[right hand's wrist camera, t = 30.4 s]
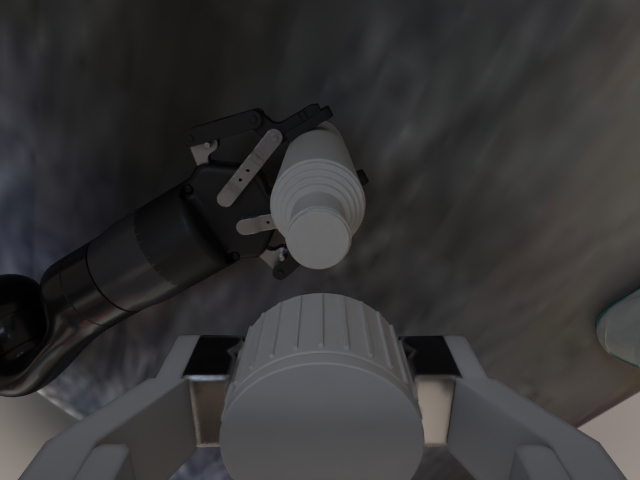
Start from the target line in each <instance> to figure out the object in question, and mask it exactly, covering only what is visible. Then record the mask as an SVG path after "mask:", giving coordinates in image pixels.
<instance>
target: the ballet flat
mask: <svg viewBox="0 0 640 480" xmlns="http://www.w3.org/2000/svg"><path fill="white" fill-rule="evenodd" d="M596 328H597V329H596V334H597V339H598V341H599V342H600V344H601V345H602V347H603V348H604V349H605V350H606V351H607V352H608V353H609V354H610V355H612V356H614V357H617V358H619V359H621V360H623V361H625V362H627V363H629V364H631V365H633V366H636V367H638V368H640V288H639V289H637V290H635V291H633V292H631V293H630V294H628V295H626V296H625V297H623V298H621V299H620V300H618V301H617V302H615V303H614V304H612V305H611V306H609V307H608V308H607V309H605V310H604V311H603V312H602V313H601V314H600V315H599V316H598V318H597V320H596Z"/></svg>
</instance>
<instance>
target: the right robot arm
mask: <svg viewBox="0 0 640 480" xmlns="http://www.w3.org/2000/svg"><path fill="white" fill-rule="evenodd" d="M398 340H401V342H402V346H403V349H404V352H405V355H406V359H407V363H408V366H409V369H410V373H411V376H412V379H413V383H414V385H415V389H416V392H417V395H418V399H419V401H418V403H419V406H420V410H421V413H422V416H423V420H422V425H423V429H424V439H425V442H424V446H426V447H447V450H448V451H449V452H450V453H451V454H452V455H453V456H454V457H455V458H456V459H457V460H458V461H459V463H460V464H461V465H462V466H463V467H464V468H465V469H466V470H467V471H468V472H469V473H470V474H471V475H472V476H473V477H474V478H475V479H476V480H627V479H626V477H625V476H624V475H623V473H622V472H621V471H620V469H619V468H618V467H617V465H616V464H615V463H614V461H613V460H612V459H611V457H610V456H609V455H608V453H607V452H606V451H605V449H604V448H603V447H602V445H601V444H600V443H599V442H598V441H596V440H595V439H593V438H591V437H590V436H588V435H586V434H585V433H583V432H582V431H580V430H578V429H577V428H575V427H573V426H572V425H570V424H568V423H567V422H565V421H564V420H562V419H560V418H559V417H557V416H555V415H554V414H552V413H551V412H549V411H547V410H546V409H544V408H542V407H541V406H539V405H537V404H536V403H534V402H533V401H531V400H529V399H528V398H526V397H524V396H523V395H521V394H520V393H518V392H516V391H515V390H513V389H511V388H510V387H508V386H506V385H505V384H503V383H502V382H500V381H498V380H497V379H495V378H488V377H487V375H486V373H485V371H484V369H483V368H482V366H481V364H480V362H479V360H478V359H477V357H476V355H475V353H474V352H473V350H472V348H471V346H470V344H469V343H468V341H467V339H466V337H465V336H463V335H441V336H399V339H398ZM242 342H245V338H244V336H226V335H202V336H201V335H181V336H179V337H178V338H177V339H176V341H175V343H174V345H173V346H172V348H171V350H170V352H169V354H168V356H167V357H166V359H165V361H164V363H163V365H162V367H161V369H160V370H159V372H158V374H157V376H156V378H149V379H147V380H145V381H144V382H142V383H141V384H139V385H137V386H136V387H134V388H132V389H131V390H129V391H128V392H126V393H124V394H123V395H121V396H119V397H118V398H116V399H115V400H113V401H111V402H110V403H108V404H107V405H105V406H103V407H102V408H100V409H98V410H97V411H95V412H94V413H92V414H90V415H89V416H87V417H85V418H84V419H82V420H81V421H79V422H77V423H76V424H74V425H72V426H71V427H69V428H68V429H66V430H64V431H63V432H61V433H59V434H58V435H56V436H55V437H53V438H51V439H50V440H48V441H46V443H45V444H44V445H43V447H42V448H41V449H40V451H39V452H38V453H37V455H36V456H35V457H34V459H33V460H32V461H31V463H30V464H29V465H28V467H27V468H26V469H25V471H24V472H23V473H22V475H21V476H20V477H19V479H18V480H168V479H169V478H170V477H171V476H172V475H173V474H174V473H175V472H176V471H177V470H178V469H179V468H180V467H181V466H182V464H183V463H184V462H185V461H186V460H187V459H188V458H189V457H190V456H191V455H192V454H193V453H194V452H195V451H196V450H197V447H217V446H220V444H219V437H220V428H221V424H222V421H221V417H222V413H223V410H224V406H225V402H224V401H225V398H226V394H227V391H228V387H229V384H230V383H231V379H232V376H233V373H234V369H235V366H236V360H237V356H238V353H239V351H240V349H241V345H242Z"/></svg>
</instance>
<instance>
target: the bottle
mask: <svg viewBox="0 0 640 480" xmlns="http://www.w3.org/2000/svg"><path fill="white" fill-rule="evenodd" d="M365 206H366V202H365V195H364V191H363V188H362V186H361V183H360V180H359V178H358V175H357V173H356V170H355V168H354V165H353V163H352V160H351V158H350V155H349V153H348V150H347V148H346V145H345V143H344V140H343V138H342V135H341V133H340V132H339V130H338V129H337V128H336V127H335V126H334V125H332V124H331V123H329V122H327V121H324V122H323V123H321V124H319V125H317V126H316V127H314V128H312V129H311V130H309V131H307V132H306V133H304V134H302V135H300V136H298V137H297V138H295V139H294V140H292V141H290V143H289V146H288V149H287V151H286V154H285V157H284V160H283V162H282V165H281V168H280V171H279V173H278V176H277V179H276V182H275V185H274V187H273V190H272V194H271V199H270V210H271V215H272V218H273V221H274V223H275V225H276V227H277V229H278V230H279V231H280V233H281V234H282V235H283V236H284V237H285V238H286V244H287V248H288V250H289V252H290V253H291V255H292V256H293V258H294V259H295V260H296V261H297V262H298V263H300V264H301V265H303V266H305V267H308V268H312V269H325V268H329V267H332V266H334V265H335V264H337V263H339V262H340V261H341V260H342V259H343V258H344V257H345V256H346V254H347V253H348V251H349V249H350V246H351V239H352V236H353V235H354V234H355V232H356V231H357V230H358V228H359V227H360V225H361V223H362V220H363V217H364V214H365Z"/></svg>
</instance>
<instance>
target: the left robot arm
mask: <svg viewBox="0 0 640 480" xmlns="http://www.w3.org/2000/svg"><path fill="white" fill-rule="evenodd" d="M332 116H333V113H332V111H331V110H330V108H329V106H326V107H324V108H322V109H321V108H320V107H319V105H318V103H317V104H310V105H309V106H307V107H306V108H304V109H302V110H301V111H299V112H297V113H296V114H294V115H292V116H291V117H289V118H287V119H286V120H284V121H282V122H275V121H273V120H272V119H270V118H269V117H268V116H267V115H266V114H265V113H264V111H263V110H262V109H260V108H254V109H251V110H248V111H244V112H241V113H238V114H234V115H231V116H228V117H224V118H221V119H218V120H214V121H211V122H208V123H204V124H201V125H198V126H195V127H193V128H190V129H188V130H186V131H184V132H183V134H182V141H183V143H184V144H185V145H186V146H188V147H190V148H191V151H192V154H193V156H194V159H195V161H196V164H197V167H196V168H195V169H194V171H193V173H192V175H191V177H190V178H188V179H187V180H185V181H184V182H182V183H180V184H179V185H177V186H175V187H174V188H172V189H170V190H169V191H167V192H165V193H164V194H162V195H160V196H159V197H157V198H155V199H154V200H152V201H150V202H149V203H147V204H145V205H144V206H142V207H140V208H138V209H135V210H133V211H131V212H130V213H128V215H127V216H125V217H124V218H122V219H120V220H119V221H117V222H116V223H114V224H113V225H111V226H110V227H109V228H108V229H107V230H105V231H104V232H103V233H102V234H101V235H99V236H98V237H96V238H95V239H93V240H92V241H90V242H88V243H87V244H85V245H83V246H82V247H80V248H78V249H77V250H75V251H73V252H72V253H70V254H68V255H67V256H65V257H63V258H62V259H60V260H58V261H57V262H55V263H54V264H53V265H51V266H50V267H49V268H48V269H47V270H46V272H45V273H44V275H43V276H42V279H41V283H40V285H39V284H38V283H37V282H36V281H35V280H33V279H31V278H29V277H26V276H23V275H17V274H4V275H0V396H5V397H19V396H25V395H28V394H31V393H33V392H36V391H38V390H39V389H41V388H43V387H44V386H46V385H48V384H49V383H50V382H52V381H53V380H54V379H56V378H57V377H58V376H59V375H60V374H61V373H62V372H63V371H64V370H65V369H66V368H67V367H68V366H69V365H70V364H71V363H72V362H73V361H74V360H75V359H76V357H77V356H78V355H79V354H80V353H81V352H82V351H83V350H84V348H85V347H86V346H87V345H88V344H89V343H91V342H92V341H93V340H94V339H95V338H96V337H97V336H99V335H100V334H101V333H102V332H104V331H105V330H107V329H109V328H110V327H112V326H114V325H115V324H117V323H119V322H121V321H123V320H125V319H126V318H128V317H130V316H132V315H134V314H136V313H137V312H139V311H141V310H143V309H145V308H147V307H150V306H152V305H155V304H158V303H160V302H163V301H165V300H167V299H169V298H171V297H173V296H175V295H176V294H178V293H180V292H182V291H184V290H186V289H187V288H189V287H191V286H193V285H195V284H197V283H198V282H200V281H202V280H204V279H206V278H207V277H209V276H211V275H213V274H215V273H217V272H218V271H220V270H222V269H224V268H226V267H228V266H229V265H231V264H233V263H235V262H237V261H238V260H240V259H242V258H247V257H258V256H259V257H261V258H262V259H263V260H264V261H265V262H266V263H267V264H268V265H269V266H270V267H272V268H273V276H274V277H275V278H276V279H279V280H282V279H284V278H286V277H287V276H288V275H289V274H290V273H291V272H293V271H294V270H295V269H296V268H297V267H298V266H299V265H300V263H298V262H297V261H296V260H295V259H294V258H293V256H292V255H291V253H290V252H289V250H288V248H287V245H286V244H280V245H278V246H276V247H271V246H269V245H268V244H269V242H270V240H271V237H272V235H273V233H274V231H275V229H277V227H276V225H275V223H274V221H273V218H272V215H271V210H270V199H271V194H272V189H271V188H270V187H269V185H268V182H267V179H266V176H265V175H264V173H263V171H262V170H261V167H262V166H263V165H264V163H265V162H266V160H267V159H268V158H269V157H270V155H271V154H272V153H273V152H274V151H275V149H276V148H277V147H278V146H279V144H281V143H283V142H284V141H286V140H288V142H290V141H292V140H294V139H295V138H297V137H298V136H300V135H302V134H304V133H306V132H307V131H309V130H311V129H312V128H314V127H316V126H317V125H319V124H321V123H323V122H324V121H326V120H328V119H329V118H331V117H332ZM251 129H253V130H255V131H256V132H257V133H258V134H259V135H261V136H262V137H263V138H262V139H261V141H260V142H259V143H258V144H257V146H256V147H255V148H254V150H253V151H252V152H251V153H250V155H249V156H248V157H247V158H246V160H245V161H244V162H243V163H236V162H227V161H217V160H211V153H212V152H213V151H215V150H216V149H217V148H218V147H219V146H220V140H219V139H221V138H224V137H227V136H231V135H234V134H237V133H241V132H244V131H248V130H251ZM356 173H357V175H358V178H359V180H360V183H361V186H362V188H363V185H365V184H366V183H367V182H368V179H367V177H366V175H365V173H364V171H363V169H361V170H358V171H356ZM363 191H365V190H364V188H363Z"/></svg>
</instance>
